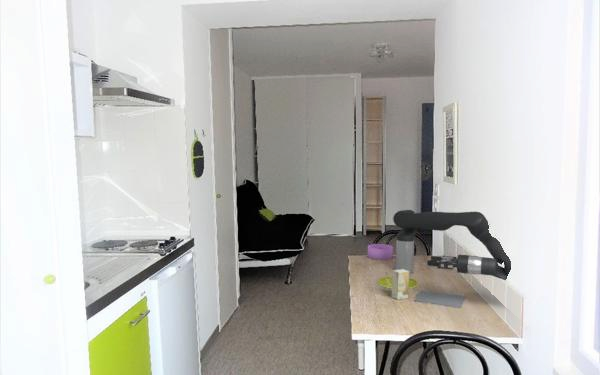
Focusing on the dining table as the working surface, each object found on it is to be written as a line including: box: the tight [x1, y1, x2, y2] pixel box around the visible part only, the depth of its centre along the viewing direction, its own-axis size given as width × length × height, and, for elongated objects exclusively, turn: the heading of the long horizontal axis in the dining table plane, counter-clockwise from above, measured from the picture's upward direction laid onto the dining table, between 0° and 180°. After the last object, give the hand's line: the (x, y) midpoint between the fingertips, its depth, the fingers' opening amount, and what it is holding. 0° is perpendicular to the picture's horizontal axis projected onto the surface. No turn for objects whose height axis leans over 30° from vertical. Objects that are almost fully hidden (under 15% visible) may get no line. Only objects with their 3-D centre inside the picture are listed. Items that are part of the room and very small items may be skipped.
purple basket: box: [366, 243, 394, 261], centre depth 274 cm, size 25×15×13 cm, turn 78°
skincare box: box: [391, 269, 410, 301], centre depth 198 cm, size 6×4×12 cm
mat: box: [413, 289, 466, 309], centre depth 197 cm, size 16×19×1 cm
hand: (429, 260), depth 192 cm, fingers open, 8 cm apart
